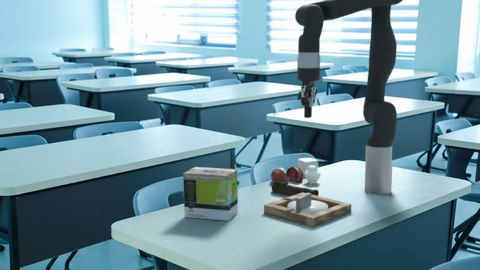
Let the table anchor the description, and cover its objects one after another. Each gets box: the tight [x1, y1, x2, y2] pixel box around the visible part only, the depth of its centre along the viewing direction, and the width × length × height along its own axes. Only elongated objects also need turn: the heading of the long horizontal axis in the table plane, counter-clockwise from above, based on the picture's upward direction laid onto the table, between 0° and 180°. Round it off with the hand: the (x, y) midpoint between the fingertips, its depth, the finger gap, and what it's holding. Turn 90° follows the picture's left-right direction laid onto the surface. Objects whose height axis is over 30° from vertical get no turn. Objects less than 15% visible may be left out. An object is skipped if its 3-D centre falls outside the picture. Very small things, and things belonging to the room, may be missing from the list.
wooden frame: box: [263, 193, 352, 228], centre depth 199 cm, size 20×20×3 cm
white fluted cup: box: [304, 165, 322, 185], centre depth 235 cm, size 6×6×7 cm
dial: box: [288, 193, 328, 214], centre depth 198 cm, size 13×13×6 cm
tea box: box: [182, 166, 239, 222], centre depth 196 cm, size 15×10×15 cm, turn 71°
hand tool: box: [271, 180, 320, 196], centre depth 218 cm, size 19×4×5 cm, turn 49°
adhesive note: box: [296, 157, 319, 177], centre depth 249 cm, size 6×6×6 cm
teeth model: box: [270, 166, 304, 185], centre depth 237 cm, size 8×6×12 cm
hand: (307, 117), depth 208 cm, fingers closed
